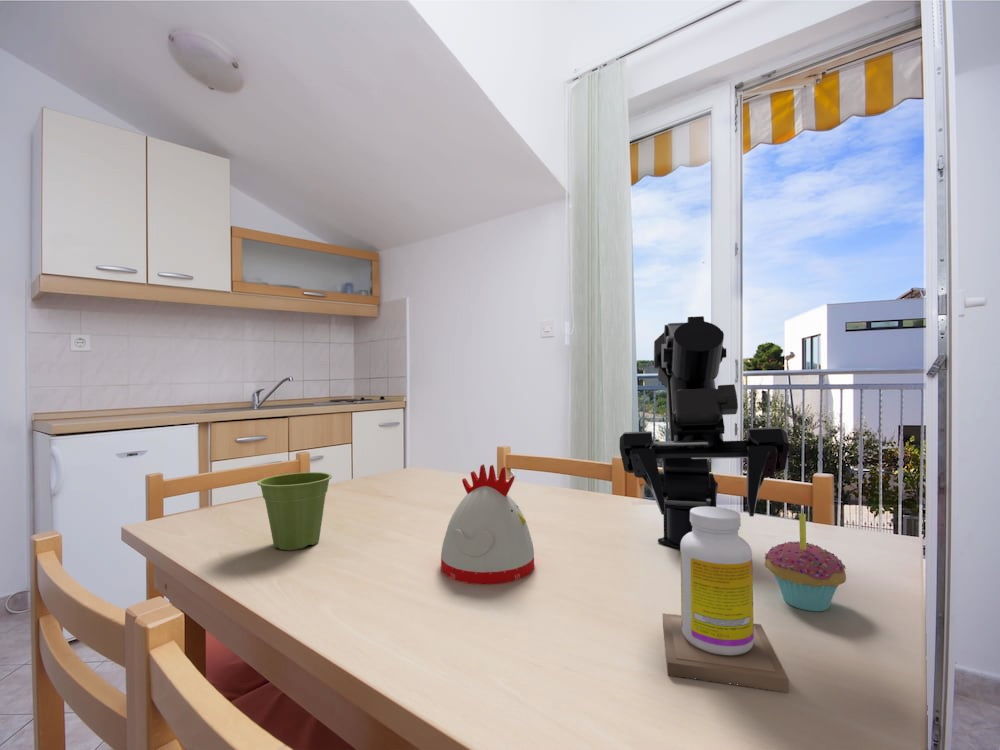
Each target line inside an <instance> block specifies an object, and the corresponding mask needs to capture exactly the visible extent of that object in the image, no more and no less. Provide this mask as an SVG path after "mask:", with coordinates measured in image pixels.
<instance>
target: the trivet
mask: <svg viewBox="0 0 1000 750" xmlns="http://www.w3.org/2000/svg"><path fill="white" fill-rule="evenodd" d="M753 625H754V643H753V646H752V648H751V649H750V650H749V651H748V652H746V653H743V654H740V655H719V654H714V653H710V652H707V651H704V650H702V649H699V648H697V647H696V646H694V645H693V644H691V643H690V642H689V641H688V640H687V639H686V638H685V636H684V635H683V632H682V618H681V614H671V613H662V628H663V629H662V630H663V631H662V632H663V640H664V650H665V651H664V652H665V662H666V670H667V676H670V677H675V676H678V677H677V678H682V677H685V678H684V679H689V678H692V679H691V680H694V679H693V678H696V679H701V680H700V681H703V680H707V681H706V682H710V681H713V682H712V683H717V682H722V683H721V684H724V683H731V684H735V685H734V686H738V685H742V686H741V687H745V686H749V687H748V688H752V687H755V688H754V689H759V688H762V689H761V690H766V689H768V690H767V691H773V690H774V691H773V692H781V693H789V679H788V676H787V674H786V672H785V670H784V668H783V666H782V664H781V662H780V660H779V658H778V656H777V654H776V651H775V650H774V648H773V645H772V643H771V641H770V640H769V638H768V636H767V634H766V632H765V630H764V628H763V626H762V624H761V623H753ZM696 679H695V680H696ZM731 684H730V685H731ZM737 684H738V685H737Z"/></svg>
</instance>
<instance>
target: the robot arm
mask: <svg viewBox="0 0 1000 750" xmlns="http://www.w3.org/2000/svg"><path fill="white" fill-rule="evenodd" d="M704 317H705V316H704V315H703V316H688V317H687V322H672V323H668V324H664V327H663V328H664V330H663V333H661V334H660V335H659V336H658V337H657V338H656V339H655V340H654V342H653V343H654V344H653V368H654V369H657V378H658V381H659V382H660V383H661V384H662V385H663V386H664V387H665V388H666V392H667V393H666V394H667V395H666V397H667V412H668V415H667V416H668V431H669V440H668V441H667V440H664V441H663V440H662V441H661V440H659V441H655V440H654V439H653V433H652V432H653V431H626V432H624V433H622V434H621V436H620V437H619V452H620V456H621V457H620V458H621V460H622V461H621V462H622V466H623V471H624V472H625V473H626V472H627V473H629V474H634V477H635V478H639V479H642V480H643V481H644V482H645V484H646V485H647V487H648V488H649V490H650V491H651V493H652V495H653V499H654V500H655V503H656V504H657V508H658V509H659V512H660V514H661V515H663V537H659V538H657V542H658V543H660V544H662V545H664V546H668V547H672V548H675V549H679V550H680V543H681V540H682V538H683V537H684V536H685V535H686V534H687V533H689V532H691V531H692V525H691V522H690V510H691V509H692V508H695V507H703V506H708V507H717V496H718V487H719V484H718V481H717V480H716V479H715V476H714V474H713V472H712V473H711V472H710V467H709V460H710V459H711V460H712V459H713V460H715V459H716V460H717V459H718V460H719V459H746V498H747V499H746V502H747V503H746V505H747V511H748V515H749V517H753V518H754V516H755V511H756V506H757V501H758V497H759V492H760V490H761V487H762V485H763V482H764V481H765V478H772V477H774V476H775V473H780V472H782V471H785V470H786V465H787V461H788V455H789V449H790V441H789V437H788V433H787V432H786V431H785V430H783V429H782V428H780V426H773V427H770V426H769V427H748V428H746V440H724V436H723V435H724V434H725V422H724V417H723V416H725V415H727V416H729V415H730V416H731V415H736V414H737V413H738V409H739V404H738V396H737V391H736V387H735V386H736V385H735V384H720V385H718V386H717V388H716V382H715V379H716V378H717V377H718V375H719V373H720V372H719V371H720V366H721V365H720V364H721V363H722V362H723V359H724V358H727V348H726V347H724V346H723V345H724V338H725V334H724V331H723V330H721V328H720V327H719V326H718V325H715V324H713V323H711V322H708V321H705V318H704ZM657 459H662V467H661V468H662V470H661V471H659V466H658V461H657ZM708 459H709V460H708Z"/></svg>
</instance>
